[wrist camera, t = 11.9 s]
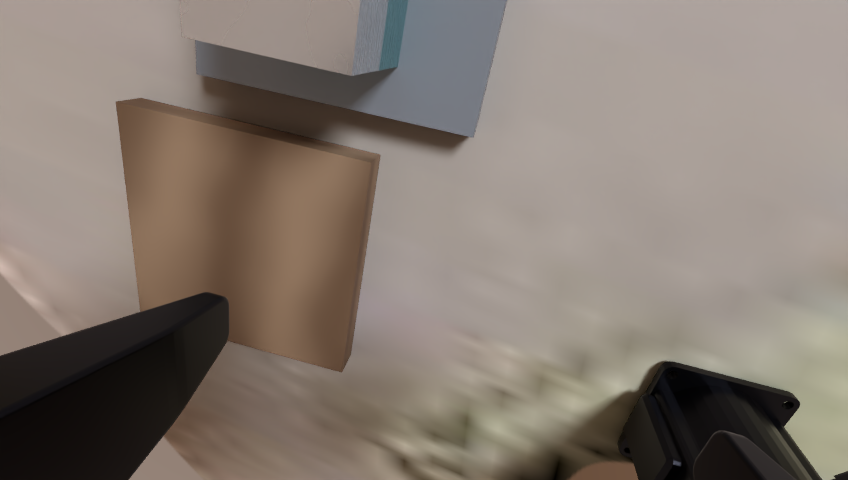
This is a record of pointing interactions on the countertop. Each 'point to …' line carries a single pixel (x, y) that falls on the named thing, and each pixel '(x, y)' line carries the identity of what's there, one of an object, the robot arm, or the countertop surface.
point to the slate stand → (391, 69)
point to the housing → (303, 30)
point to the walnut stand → (249, 225)
